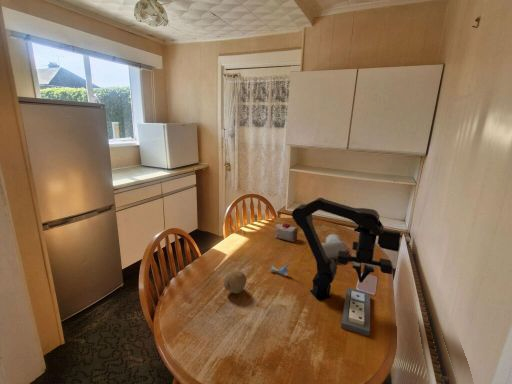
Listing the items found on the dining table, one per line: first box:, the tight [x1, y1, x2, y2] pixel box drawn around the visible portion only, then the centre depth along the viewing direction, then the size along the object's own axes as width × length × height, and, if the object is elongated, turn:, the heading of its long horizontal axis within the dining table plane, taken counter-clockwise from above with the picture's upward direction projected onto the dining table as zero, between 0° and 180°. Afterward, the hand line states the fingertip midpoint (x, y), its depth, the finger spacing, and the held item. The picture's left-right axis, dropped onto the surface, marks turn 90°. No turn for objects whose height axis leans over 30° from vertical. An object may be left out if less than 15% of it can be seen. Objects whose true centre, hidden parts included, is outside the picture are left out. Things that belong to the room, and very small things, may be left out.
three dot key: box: [349, 300, 364, 312], centre depth 97 cm, size 5×5×2 cm
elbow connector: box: [313, 233, 347, 260], centre depth 138 cm, size 18×11×20 cm
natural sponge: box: [223, 269, 247, 295], centre depth 105 cm, size 9×9×10 cm
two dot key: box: [347, 307, 365, 326], centre depth 91 cm, size 5×5×2 cm
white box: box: [274, 222, 299, 243], centre depth 157 cm, size 14×8×10 cm, turn 59°
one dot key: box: [350, 291, 365, 303], centre depth 103 cm, size 5×5×2 cm
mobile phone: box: [355, 272, 378, 296], centre depth 115 cm, size 8×1×15 cm
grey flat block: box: [340, 287, 371, 337], centre depth 97 cm, size 22×9×2 cm, turn 157°
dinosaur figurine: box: [269, 259, 293, 277], centre depth 118 cm, size 2×13×8 cm
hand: (360, 281), depth 97 cm, fingers closed
